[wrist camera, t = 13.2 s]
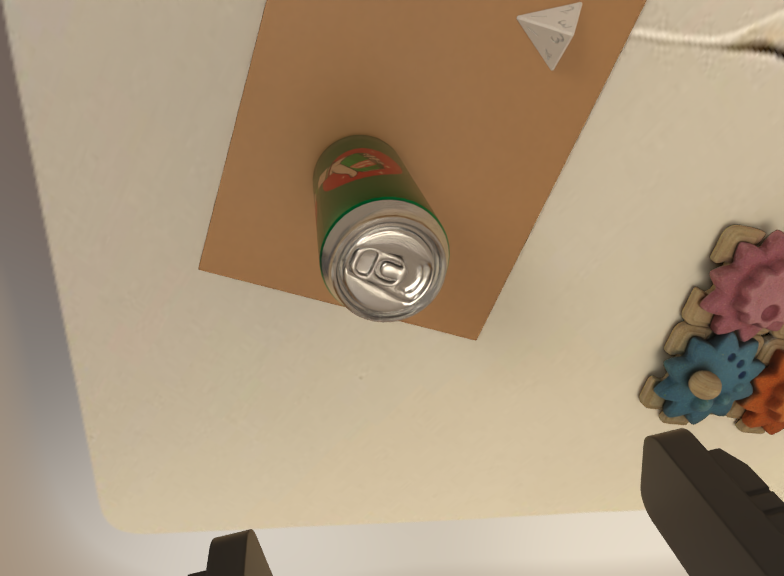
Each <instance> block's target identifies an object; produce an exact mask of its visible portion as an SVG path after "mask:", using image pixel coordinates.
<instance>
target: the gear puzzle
mask: <svg viewBox="0 0 784 576" xmlns="http://www.w3.org/2000/svg"><path fill="white" fill-rule="evenodd" d="M765 235H766V234H765V232H763V231H761V230H759V229H756V228H751V227H746V226H741V225H732V226H729V227H728V228H726V229H725V230H724V231H723V233H722V234H721V236H720V238H719V240H718V242H717V244H716V246H715V248H714V250H713V252H712V254H711V256H710V259H711V260H712V261H714V262H715V263H721V262H724V264H723V266H721V267H718V268H716V269H713V270H711V272H710V278H711V280H712V282H713V285H712V286H711V288H710V289H709V290H707V291H703V290H701V289H700V288H698V287H695V288H694V289H693V290H692V292H691V294H690V296H689V298H688V300H687V302H686V304H685V306H684V308H683V310H682V318H683V319H684V320H685V321H684V322H680V323H678V324H677V325H676V326H675V327H674V329H673V331H672V333H671V335H670V336H669V338H668V340H667V342H666V344H665V347H664V350H665V351H666V352H667V353H668V354H669V355H675V354H676V356H675V357H673V358H669V359H667V360H665V361H664V367H665V369H666V371H667V373H666V375H665V376H664V377H662V378H657V377H655V376H653V375H652V376H650V377H649V378H648V379H647V381H646V383H645V385H644V387H643V389H642V391H641V393H640V396H639V400H640V402H641V403H642V404H643V405H644V406H645V407H646V408H650V409H661V410H663V411H662V412H661V413H660V414H659V419H660V420H661V421H662V422H663V423H667V424H678V425H686V424H687V423H688V422H690V423H691V424H693V425H694V424H696V423H698V422H700V421H702V420H703V419H705V418H706V417H707V416H708V415H709V414H715V415H717V416H727V417H731V418H740V420H739V421H738V422H737V423H736V424H735V426H736V427H737V428H738V429H739V430H740V431H742V432H747V433H758V434H762V433H764V432H765V431H766V432H767V433H769V434H771V435H773V434H775V433H777V432H779V431H781V430H782V429H784V233H783V232H782V231H780V230H776V231H774V232H772V233H771V234H770V235H769V236H768V237H767V238H766V239H765V240H764V242H763V243H762V245H761V246H760V247H757V243H758V242H760V241H762V239H763V238H764V237H765ZM768 332H769V333H770V335H767V336H764V337H762V336H761V334H765V333H768Z"/></svg>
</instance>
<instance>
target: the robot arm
mask: <svg viewBox="0 0 784 576" xmlns="http://www.w3.org/2000/svg"><path fill="white" fill-rule="evenodd" d="M641 495H642V500H643V503H644V506H645V508H646V511H647V513H648V515H649V517H650V518H651V520H652V521H653V523H654V524H655V526H656V527H657V529H658V530H659V532H660V533H661V535H662V536H663V538H664V539H665V540H666V542H667V544H668V545H669V547H670V548H671V549H672V551H673V552H674V554H675V555H676V557H677V558H678V560H679V561H680V563H681V564H682V566H683V567H684V568H685V570H686V572H687V573H688V574H689V576H784V502H783V501H782V500H781V499H780V498H779V497H778V496H777V495H776V494H775V493H774V492H773V491H772V492H771V491H770V490H769V487H768V486H767V485H766V484H765V482H764V481H763V480H762V479H761V478H760V477H759V476H758V475H757V474H756V473H755V472H754V471H753V470H752V469H751V468H750V467H749V466H748V465H747V464H745V463H744V462H742V461H740V460H739V459H737V458H735V457H733V456H732V455H730V454H728V453H727V452H725V451H723V450H722V449H720V448H718V449H714V450H710V451H707V449H706V448H705V447H704V446H703V445H702V444H701V443H700V442H699V441H698V439H697V438H696V437H695V436H694V435H693V434H692V433H691V432H690V431H688V430H687V429H684V428H680V429H676V430H672V431H668V432H663V433H659V434H655V435H651V436H647V437H646V438H645V440H644V446H643V460H642V474H641ZM188 576H273V575H272V573H271V570H270V568H269V565H268V563H267V561H266V558H265V556H264V553H263V551H262V548H261V546H260V544H259V542H258V539H257V536H256V534H255V532H254V531H253V530H252V529H250V530H246V531H242V532H237V533H234V534H229V535H225V536H221V537H216V538H214V539H213V540H212V542H211V544H210V549H209V555H208V562H207V568H206V571H201V572H197V573H193V574H190V575H188Z"/></svg>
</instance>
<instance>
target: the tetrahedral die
mask: <svg viewBox="0 0 784 576" xmlns="http://www.w3.org/2000/svg"><path fill="white" fill-rule="evenodd" d="M581 7H582V2H578V3H573V4H569V5H564V6H560V7H555V8H551V9H546V10H542V11H537V12H533V13H528V14H524V15H519V16H517V20H518V22H519V23H520V25H521V26H522V28H523V29H524V31H525V32H526V34H527V35H528V37H529V38H530V40H531V41H532V43H533V44H534V46H535V47H536V49H537V50H538V52H539V53H540V55H541V56H542V58H543V59H544V61H545V62H546V64H547V65H548V67H549V68H550V70H551V71H552V70H554V69H555V67H556V65H557V63H558V62H559V60H560V58H561V57H562V55H563V53H564V51H565V50H566V48H567V46H568V45H569V43H570V41H571V39H572V38H573V36H574V33H575V29H576V26H577V22H578V18H579V15H580V11H581Z"/></svg>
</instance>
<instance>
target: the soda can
mask: <svg viewBox="0 0 784 576" xmlns="http://www.w3.org/2000/svg"><path fill="white" fill-rule="evenodd" d="M313 194H314V206H315V218H316V230H317V242H318V254H319V266H320V271H321V276H322V278H323V281H324V284H325V286H326V287H327V289H328V291H329V292H330V293H331V295H332V296H333V297H334V298H335V299H336V300H337V301H338V302H339V303H340V304H342V305H343V306H345V307H346V308H347V309H349V310H350V311H351V312H352V313H354V314H356V315H357V316H359V317H362V318H364V319H367V320H371V321H375V322H394V321H400V320H403V319H406V318H409V317H411V316H413V315H415V314H417V313H419V312H420V311H422V310H423V309H425V308H426V307H427V306H428V305H429V304H430V303H431V302H432V301H433V300H434V299H435V298H436V296H437V295H438V293H439V291H440V290H441V287H442V285H443V283H444V279H445V276H446V273H447V269H448V265H449V259H450V247H449V241H448V237H447V234H446V232H445V230H444V227H443V226H442V224H441V222H440V221H439V219H438V218H437V216H436V215H435V213H434V211H433V210H432V208H431V207H430V205H429V203H428V202H427V200H426V199H425V197H424V195H423V194H422V192H421V191H420V189H419V187H418V186H417V184H416V183H415V181H414V179H413V178H412V176H411V175H410V173H409V171H408V170H407V168H406V167H405V165H404V163H403V162H402V160H401V159H400V157H399V156H398V154H397V153H396V151H395V150H394V149H393V148H392V147H391V146H390V145H388V144H387V143H386V142H384V141H382V140H381V139H379V138H376V137H373V136H368V135H351V136H347V137H344V138H341V139H339V140H337V141H335V142H334V143H332V144H331V145H330V146H328V147H327V148H326V149H325V150H324V151H323V153H322V154H321V156H320V157H319V159H318V161H317V163H316V165H315V168H314V172H313Z"/></svg>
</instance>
